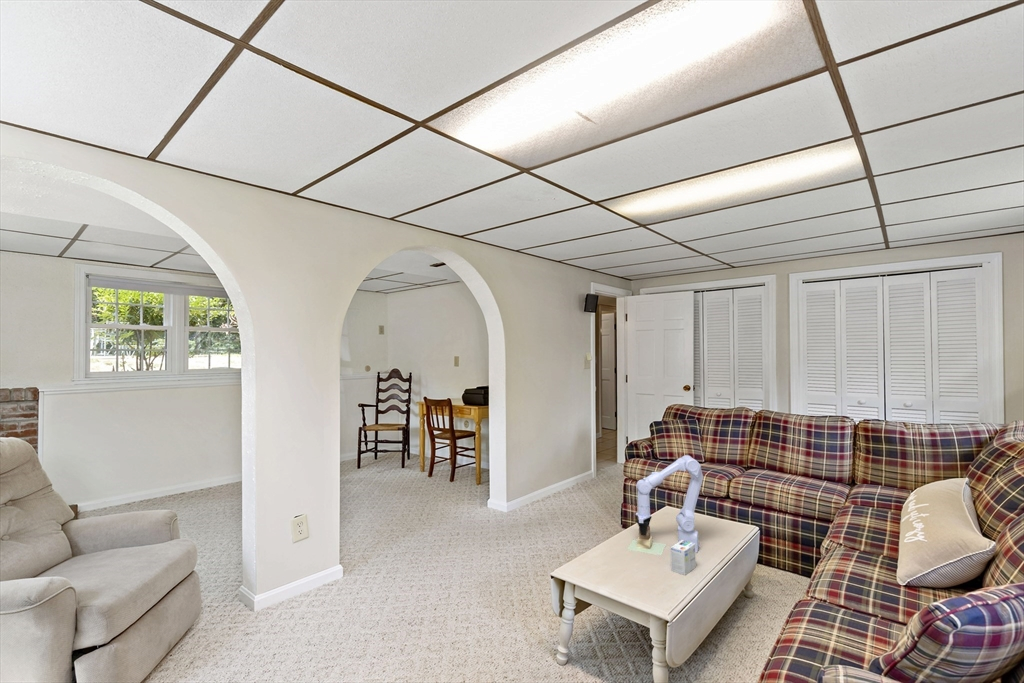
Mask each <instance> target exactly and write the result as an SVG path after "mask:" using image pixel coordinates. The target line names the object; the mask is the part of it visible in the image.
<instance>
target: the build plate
mask: <svg viewBox="0 0 1024 683" xmlns="http://www.w3.org/2000/svg"><path fill="white" fill-rule="evenodd" d="M666 546H667V543H660V542H653V541H652V546H651V548H650V549H646V548H640V547H637V538H636V539H634V538H633V539H632V541H631V542H630V543H629V545H628V547H627V549H626V551H631V552H632V551H633V552H637V553H643V554H650V555H655V556H662V554H663V552H664V551H665V548H666Z"/></svg>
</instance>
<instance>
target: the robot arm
mask: <svg viewBox="0 0 1024 683" xmlns="http://www.w3.org/2000/svg"><path fill="white" fill-rule="evenodd" d="M678 471H680V472H681V471H682V472H686V471H687V472H688V474H689V475H690V480H689V483H688V486H687V491H686V494H685V498H684V503H683V506H682V508H681V509H680V511H679V513H678V514H677V515H676V516H675V517H676V518H675V520H676V523H677V524H678V526H677V543H678V542H679V541H680V540H684V541H688V542H691V543H695V553H698V551H699V548H700V542H699V531H698V530H695V526H696V525H695V516H696V515H695V509H696V507H697V501H698V498H699V494H700V491H701V488H702V484H703V481H704V475H703V470H702V465H701V464H700V463H699V461H697V460H696V459H694V458H693V457H692V456H691V455H689V454H686V455H685V454H684V455H683V456H682V457H679V458H677V459H676V460H675V461H674V462H672V463H671V464H670V465H668V466H667V467H665V468H664V469H662V470H661V471H652V472H651V473H650V475H648V476H646V477H643V479H639V480H637V482H636V485H635V487H636V489H637V512H636V513H635V516H637V517H638V518H637V519H636V524H637V525H638V529H639V528H640V532H641V535H646V531H647V526H650V523H651V521H652V518H653V517H652V516H651V506H650V505H651V500H650V493H651V490H652V489H655V488H656V487H657V486H659V485H660V484H662V483H664V479H665V478H667V477H669V476H670V475H672V474H674V473H676V472H678Z"/></svg>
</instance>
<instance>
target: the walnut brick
mask: <svg viewBox="0 0 1024 683" xmlns="http://www.w3.org/2000/svg"><path fill="white" fill-rule="evenodd" d="M650 536H651V526H650V525H649V526H647V531H646V535H641V532H640V528H639V527H638V537H639V539H645V540H649V538H650Z"/></svg>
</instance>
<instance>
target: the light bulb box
mask: <svg viewBox="0 0 1024 683" xmlns="http://www.w3.org/2000/svg"><path fill="white" fill-rule="evenodd" d="M696 562H697V561H696V552H695V543H691V542H688V541H684V540H680V541H679V542H678V541H677V542H676V543H675V544H673V545H672V546H670V567H671V569H670V570H671V572H672V573H673V572H674V573H677V574H679V575H683V576H686V575H688V574H689V573H691V572H692V571H693V570H694V569H696V566H697V564H696Z"/></svg>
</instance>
